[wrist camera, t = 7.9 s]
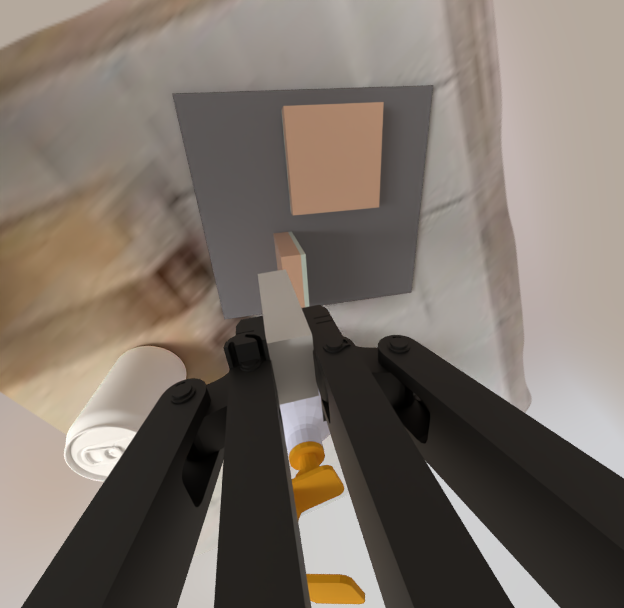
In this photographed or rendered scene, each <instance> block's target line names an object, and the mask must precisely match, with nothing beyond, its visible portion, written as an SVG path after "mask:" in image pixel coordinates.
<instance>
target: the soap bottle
mask: <svg viewBox="0 0 624 608" xmlns="http://www.w3.org/2000/svg"><path fill="white" fill-rule="evenodd" d="M318 393H319V396H315V397H311V398H307V399H303V400H298V401H294V402H290V403H285V404H281V405H280V410H281V415H282V421H283V428H284V434H285V440H286V447H287V450H288V455H289V461H290V464H291V466H292V467H293V468H294V469H296V470H300V471H299V472H298V473H297V474H296V477H295V478H294V479H292V486H293V492H294V499H295V505H296V512H297V518H298V520H299V517H300V515H301V513H302V512H304V511H305V510H307V509H309V508H312V507H314V506H316V505H318V504H321V503H323V502H325V501H327V500H330V499H332V498H334V497H336V496H339V495H340V494H341V493H343V491H344V486H343V483H342V482H341V480H340V478H339V477H338V475H337V474H336V472H335V470H334V469H333V467H332V466H329V465H323V466H319V465H320V464H321V463H322V462H323V461H324V457H325V454H324V449H323V445H322V441H323V440H324V439H326V438H327V437H328V436H329V435H330V431H329V428H328V425H327V421H324V422H323V413H322V404H321V395H320V392H319V389H318ZM306 576H307V583H308V589H309V596H310V601H313V602H315V603H326V604H327V603H328V604H362V603H364V602H365V593H364V592H363V591H362V590H361V589H360V587H359V586H358V585H357V584H356V583H355V581H354V580H353V579H352V578H350V577H348V576H346V575H340V574H306Z"/></svg>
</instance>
